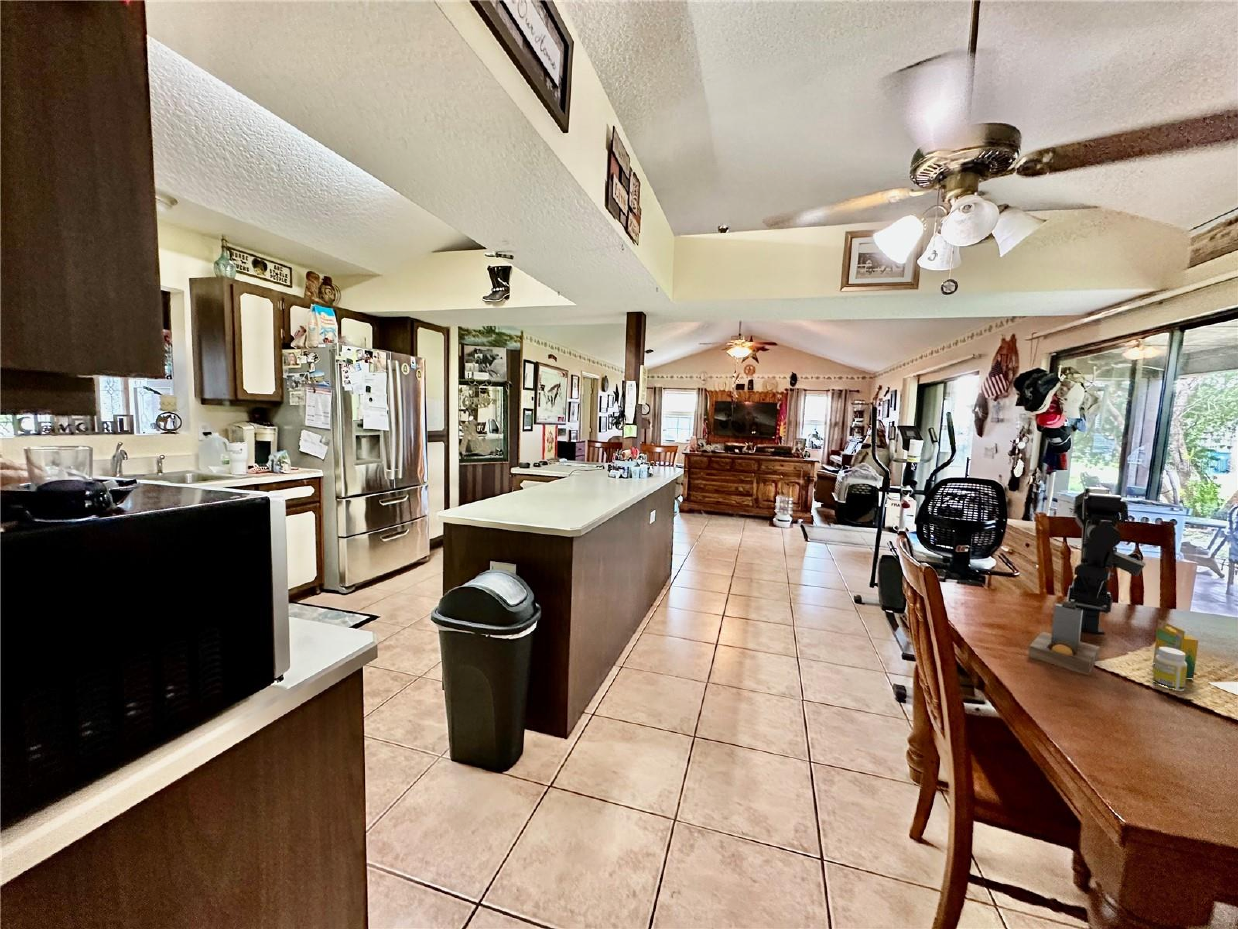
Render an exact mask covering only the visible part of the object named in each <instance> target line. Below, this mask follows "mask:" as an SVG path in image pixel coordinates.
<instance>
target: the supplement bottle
mask: <svg viewBox="0 0 1238 929" xmlns="http://www.w3.org/2000/svg"><path fill="white" fill-rule="evenodd" d="M1158 654H1159V655H1157V656H1156V657H1155V665H1153V666H1154V668H1153V675H1152V677H1153V678H1152V681H1155V682H1156V683H1157V684H1161V685H1164V686H1167V687H1168V688H1174V689H1177V690H1183V689H1184V690H1185V688H1186V681H1187V680H1186V672H1187V663H1186V662H1185V661H1184V660H1185V655H1186V654H1185V653H1184V652H1182V651H1180V650H1177V649H1173V648H1169V647H1159V650H1158ZM1157 684H1156V685H1157Z"/></svg>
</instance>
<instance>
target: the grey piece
mask: <svg viewBox="0 0 1238 929" xmlns="http://www.w3.org/2000/svg"><path fill="white" fill-rule="evenodd" d="M1075 605H1076V604H1075V603H1073V602H1070V601H1067V600H1062V603H1057V602H1056V603H1055V604H1054V605H1053V606H1054V608H1053V614H1052V615H1053V616H1052V617H1053V618H1052V627H1051V634H1052V636H1051V643H1054V644H1057V645H1058V644H1061V645H1065V646H1067V647H1069V648H1072V649H1075V650H1078V649H1079V644H1080V642H1081V633H1082V631H1081V624H1082V614H1083V609H1079V608H1075Z"/></svg>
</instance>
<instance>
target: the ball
mask: <svg viewBox="0 0 1238 929" xmlns="http://www.w3.org/2000/svg"><path fill="white" fill-rule="evenodd" d="M1051 650H1052V651H1055V652H1059V653H1062V654H1066V655H1073V652H1072V651H1071V649H1070V648H1069V647H1067V646H1065V645H1061V644H1058V645H1055V646H1053V647H1052V649H1051Z"/></svg>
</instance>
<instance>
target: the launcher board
mask: <svg viewBox="0 0 1238 929" xmlns="http://www.w3.org/2000/svg"><path fill="white" fill-rule="evenodd" d="M1051 636H1052V633H1049V632H1045V631H1042V632H1041V633H1040V634H1039V635H1038V636H1037V637H1036V638H1035V639H1034V640H1033V641H1032V642H1031V644H1030V645H1029V647H1028V656H1027V657H1028V658H1029V657H1032V658H1031V659H1033V658H1034V659H1033V660H1036V659H1038V660H1037V661H1039V660H1041V661H1040V662H1043V661H1045V662H1044V663H1046V662H1047V663H1046V664H1049V663H1050V664H1049V665H1052V664H1054V665H1053V666H1056V665H1057V666H1056V667H1060V668H1062V667H1064V668H1063V669H1065V668H1066V669H1067V670H1070V671H1072V672H1075V671H1076V672H1075V673H1079V674H1082V675H1085V674H1086V675H1085V676H1089V675H1090V673H1091V671H1092V670H1093V668H1094V666H1095V665H1096V663H1097V661H1098V659H1099V654H1100V646H1098V645H1095V644H1090V643H1086V642H1082V641H1080V644H1079V649H1078V650H1075V649H1072V648H1070V649H1071V651H1072V652H1073V655H1066V654H1062V653H1059V652H1055V651H1052V650H1051V649H1052V647H1053V646H1055V645H1057V644H1054V643H1051ZM1095 662H1096V663H1095ZM1094 664H1095V665H1094Z"/></svg>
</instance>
